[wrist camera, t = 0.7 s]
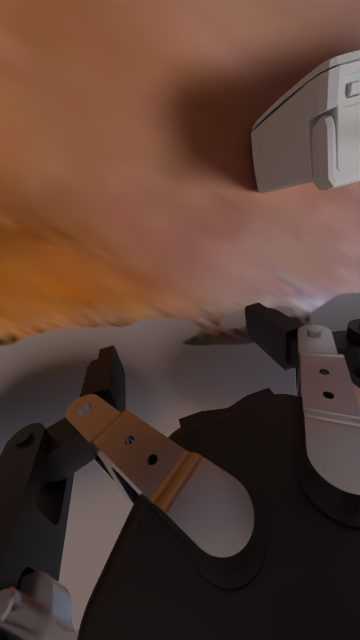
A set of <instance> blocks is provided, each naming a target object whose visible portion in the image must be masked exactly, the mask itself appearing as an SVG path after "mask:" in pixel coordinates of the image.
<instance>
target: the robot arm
mask: <svg viewBox="0 0 360 640" xmlns="http://www.w3.org/2000/svg"><path fill="white" fill-rule="evenodd" d="M245 317H246V329H247V333H248V335H249V337H250V338H251V339H252V340H253V341H254V342H255V343H256V344H257V345H258V346H259V347H261V349H263V350H264V351H265V352H266V353H267V354H268V355H269V356H270V357H271V358H272V359H273V360H275V361H276V362H277V363H278V364H279V365H280V366H281V367H282V368H283V369H284V370H288V369H291V368H295V369H296V396H294V395H288V394H273V392H272V391H271V390H270V389H269V388H267V389H264V390H261V391H258V392H256V393H253V394H250V395H247V396H246V397H244V398H242V399H241V400H240V401H238V402H236V403H235V404H233V405H232V406H230V407H228V408H225V409H217V410H208V411H201V412H198V413H195V414H192V415H189V416H187V417H184V418H181V419H179V422H180V426H181V427H180V428H178V429H177V430H176V431H175V432H173V433H172V434H171V435H170V436H169V437H168V438H167V437H166V436H165V435H163V434H162V433H160V432H159V431H157V430H156V429H154V428H153V427H151V426H150V425H149V424H147V423H146V422H144V421H143V420H141V419H140V418H138V417H137V416H135V415H134V414H133V413H131V412H130V411H128V410H126V406H125V405H126V397H125V396H126V390H125V388H126V387H125V386H126V385H125V372H124V368H123V365H122V363H121V361H120V358H119V356H118V353H117V351H116V349H115V347H114V346H109V347H106V348H103V349H100V351H99V356H98V359H96V360H93V361H92V362H91V363H90V365H89V366H88V367H87V371H86V375H85V381H84V383H83V386H82V390H81V394H80V398H79V399H77V400H76V401H74V402H73V403H72V404H71V405H70V407H69V408H68V409H67V412H66V417H65V418H64V419H62V420H60V421H59V422H57V423H55V424H53V425H51V426H50V427H48V428H45V427H44V426H43V425H42V424H41V423H34V424H30V425H28V426H26V427H24V428H22V429H21V430H19V431H18V432H17V433H16V434H15V435H13V436H12V437H11V438H10V440H9V441H8V442H7V444H6V445H5V447H4V449H3V452H2V454H1V455H0V640H360V406H359V403H358V400H357V396H356V393H355V390H354V387H353V383H354V384H355V385H356V386H358V387H359V388H360V319H356V320H352V321H350V322H349V323H348V328H347V330H346V331H336V332H331V331H330V329H328V328H326V327H324V326H320V325H303V324H301V323H299V322H297V321H296V320H294V319H292V318H290V317H288V316H287V315H285V314H283V313H282V312H280V311H278V310H275V309H272V308H267V307H265V306H263V305H262V304H260V303H255V304H252V305H249V306H246V307H245ZM352 382H353V383H352ZM92 460H94V461H95V462H96V463H97V464H98V466H99V467H100V468H101V469H102V470H103V471H104V472H105V473H106V475H107V476H108V477H109V478H110V479H111V480H112V481H113V482H114V483H115V485H116V486H117V487H118V488H119V490H120V491H121V492H122V494H123V495H124V496H125V498H126V499H127V500H128V501H129V503H130V504H131V505H132V506H133V507H132V509H131V511H130V513H129V516H128V518H127V519H126V522H125V524H124V526H123V528H122V530H121V532H120V534H119V536H118V539H117V541H116V543H115V545H114V547H113V549H112V552H111V553H110V556H109V558H108V560H107V562H106V564H105V566H104V569H103V570H102V573H101V575H100V577H99V579H98V581H97V583H96V585H95V588H94V590H93V592H92V594H91V596H90V598H89V601H88V604H87V606H86V609H85V612H84V615H83V618H82V621H81V625H80V629H79V630H78V631H76V632H75V630H74V626H73V621H72V600H71V596H70V593H69V591H68V589H67V588H66V587H65V586H63V585H62V584H61V583H59V582H58V580H59V573H60V566H61V559H62V553H63V546H64V539H65V533H66V525H67V518H68V511H69V505H70V498H71V491H72V485H73V478H74V472H76V471H77V470H79V469H80V468H82V467H83V466H85V465H86V464H88V463H89V462H91V461H92Z"/></svg>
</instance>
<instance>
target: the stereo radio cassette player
mask: <svg viewBox="0 0 360 640" xmlns="http://www.w3.org/2000/svg"><path fill="white" fill-rule="evenodd" d="M251 140H252V154H253V163H254V171H255V176H256V182H257V187H258V191H259V192H261V193H265V192H269V191H274V190H278V189H282V188H287V187H291V186H295V185H300V184H304V183H308V182H312V181H313V182H314V184H315V185H316V186H317V188H318V189H319V190H329V189H333V188H336V187H340V186H344V185H348V184H351V183H355V182H359V181H360V50H357V51H353V52H349V53H345V54H342V55H339V56H336V57H332V58H330V59H328V60H327V61H325V62H324V63H322V64H320V65H319V66H317V67H316V68H315V69H313V70H312V71H311V72H310V73H309V74H307V75H306V76H305V77H304V78H303V79H301V80H300V81H299V82H298V83H297V84H295V85H294V86H293V87H292V88H291V89H290V90H288V91H287V92H286V93H285V94H284V95H283V96H282V97H280V98H279V99H278V100H277V101H276V102H275V103H274V104H273V105H272V106H271V107H270V108H269V109H268V110H267V111H266V112H265V113H264V114H263V115H262V116H261V117H260V118H259V119H258V120H257V121H256V123H255V124H254V125H253V129H252V132H251Z"/></svg>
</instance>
